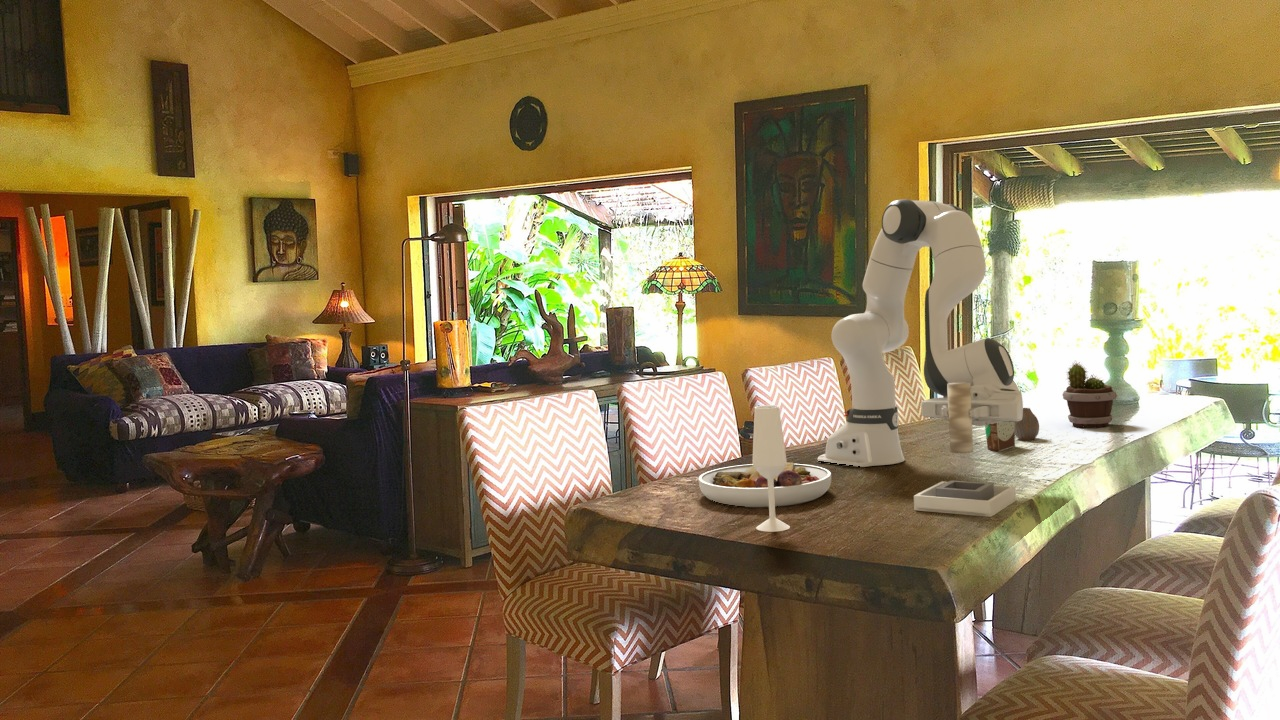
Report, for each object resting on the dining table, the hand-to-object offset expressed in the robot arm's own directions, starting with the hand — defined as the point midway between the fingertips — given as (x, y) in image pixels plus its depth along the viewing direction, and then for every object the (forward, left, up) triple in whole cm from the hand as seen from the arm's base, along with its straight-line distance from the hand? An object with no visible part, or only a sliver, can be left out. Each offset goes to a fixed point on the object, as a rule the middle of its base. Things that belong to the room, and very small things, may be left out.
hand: (958, 413), depth 203 cm
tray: (0, +1, -19) cm, 19 cm away
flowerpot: (-3, +116, -20) cm, 118 cm away
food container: (-16, +70, -20) cm, 74 cm away
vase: (-13, +87, -20) cm, 90 cm away
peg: (0, +1, -8) cm, 8 cm away
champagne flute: (-27, -31, -20) cm, 45 cm away
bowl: (-44, -5, -20) cm, 48 cm away
